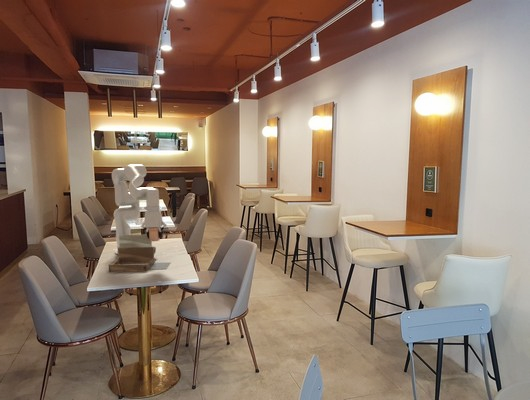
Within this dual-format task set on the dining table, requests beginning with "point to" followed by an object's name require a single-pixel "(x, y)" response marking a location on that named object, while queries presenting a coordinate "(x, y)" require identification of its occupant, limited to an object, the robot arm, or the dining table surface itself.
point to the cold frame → (133, 254)
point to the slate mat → (160, 266)
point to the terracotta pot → (153, 234)
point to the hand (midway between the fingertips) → (154, 237)
